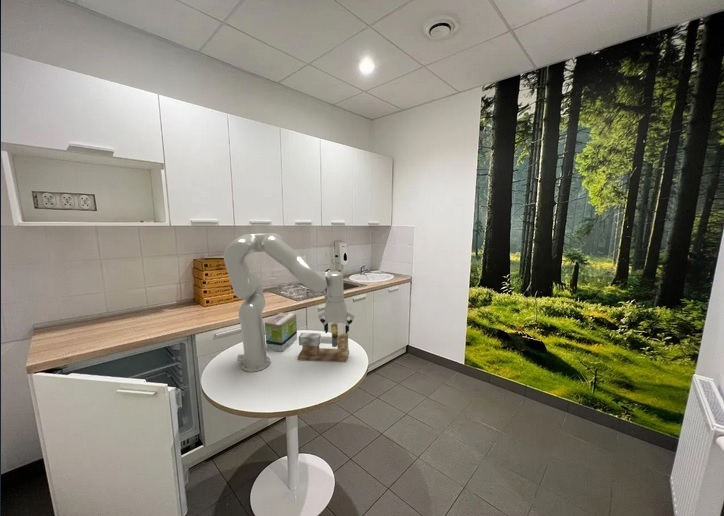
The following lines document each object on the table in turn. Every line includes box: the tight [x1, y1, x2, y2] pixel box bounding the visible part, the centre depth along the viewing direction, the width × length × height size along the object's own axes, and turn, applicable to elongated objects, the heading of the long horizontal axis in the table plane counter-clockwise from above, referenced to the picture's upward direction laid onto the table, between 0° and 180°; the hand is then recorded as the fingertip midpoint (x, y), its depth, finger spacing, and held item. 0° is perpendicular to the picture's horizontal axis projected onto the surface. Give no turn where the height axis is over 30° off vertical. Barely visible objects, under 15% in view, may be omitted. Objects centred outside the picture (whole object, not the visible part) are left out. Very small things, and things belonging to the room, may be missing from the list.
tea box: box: [264, 311, 298, 353], centre depth 156 cm, size 15×10×15 cm
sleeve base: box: [297, 332, 350, 363], centre depth 144 cm, size 24×9×11 cm, turn 84°
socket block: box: [336, 332, 350, 357], centre depth 143 cm, size 4×5×10 cm
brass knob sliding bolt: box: [319, 323, 339, 348], centre depth 142 cm, size 14×4×10 cm, turn 84°
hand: (336, 332), depth 142 cm, fingers open, 9 cm apart
